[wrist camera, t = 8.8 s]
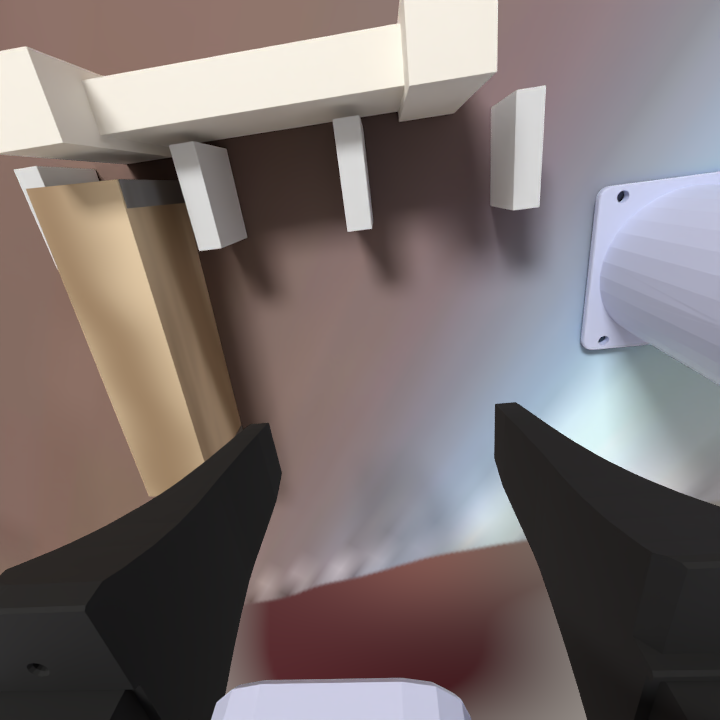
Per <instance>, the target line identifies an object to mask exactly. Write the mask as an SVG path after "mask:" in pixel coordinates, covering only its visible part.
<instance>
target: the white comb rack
mask: <svg viewBox="0 0 720 720" xmlns="http://www.w3.org/2000/svg"><path fill="white" fill-rule="evenodd" d="M497 31H498V0H400V1H399V11H398V21H397V24H393V25H387V26H382V27H376V28H371V29H365V30H360V31H354V32H348V33H343V34H337V35H332V36H326V37H321V38H315V39H309V40H304V41H298V42H293V43H287V44H282V45H276V46H271V47H265V48H259V49H254V50H248V51H243V52H237V53H232V54H226V55H220V56H215V57H209V58H204V59H198V60H193V61H187V62H181V63H176V64H170V65H165V66H159V67H154V68H148V69H142V70H137V71H131V72H126V73H120V74H115V75H109V76H101V75H99V74H96V73H94V72H91V71H88V70H86V69H83V68H81V67H78V66H76V65H73V64H70V63H68V62H65V61H63V60H60V59H58V58H55V57H52V56H50V55H47V54H45V53H42V52H39V51H37V50H34V49H32V48H29V47H27V46H25V47H20V48H15V49H10V50H4V51H0V155H11V156H24V157H37V158H50V159H63V160H76V161H89V162H102V163H115V164H132V163H138V162H144V161H151V160H157V159H164V158H170V157H172V158H173V162H174V165H175V168H176V172H177V175H178V179H179V182H180V186H181V189H182V193H183V196H184V200H185V203H186V207H187V210H188V214H189V217H190V221H191V224H192V228H193V231H194V234H195V238H196V241H197V245H198V248H199V251H204V250H211V249H219V248H223V247H226V246H228V245H231V244H233V243H236V242H238V241H241V240H243V239H246V238H247V234H246V229H245V225H244V221H243V217H242V212H241V208H240V204H239V200H238V195H237V191H236V187H235V183H234V178H233V174H232V170H231V166H230V161H229V157H228V153H227V149H225V148H221V147H217V146H212V145H208V144H203V143H202V142H208V141H215V140H221V139H227V138H234V137H240V136H246V135H253V134H259V133H265V132H272V131H278V130H284V129H291V128H297V127H303V126H310V125H316V124H322V123H329V122H333V127H334V135H335V142H336V150H337V157H338V164H339V172H340V179H341V187H342V194H343V202H344V209H345V216H346V224H347V231H348V232H350V231H358V230H366V229H372V225H373V213H372V204H371V195H370V186H369V176H368V167H367V158H366V149H365V139H364V130H363V125H362V122H361V119H360V117H367V116H373V115H379V114H386V113H392V112H398V116H399V122H402V121H409V120H415V119H422V118H428V117H435V116H441V115H447V114H454V113H455V112H456V111H457V110H458V109H459V108H460V107H461V106H462V105H463V104H464V103H465V102H466V101H467V100H468V99H469V98H470V97H471V96H472V95H473V94H474V93H475V92H476V91H477V90H478V89H479V88H481V87H482V86H483V85H484V84H485V83H486V82H487V81H488V80H489V79H490V78H491V77H492V76H493V75H494V74H495V73H496V72H497ZM545 95H546V85H545V86H539V87H532V88H526V89H520V90H516V91H514V92H513V93H512V94H510V95H509V96H507V97H506V98H504V99H503V100H501V101H500V102H499V103H497V104H496V105H494V106H493V107H491V187H490V206H493V207H498V208H503V209H508V210H520V209H528V208H536V207H539V205H540V186H541V168H542V150H543V131H544V113H545ZM14 172H15V174H16V176H17V179H18V181H19V183H20V185H21V188H22V190H23V192H24V194H25V197H26V199H27V201H28V204H29V206H30V208H31V210H32V213H33V215H34V217H35V219H36V222H37V224H38V226H39V229H40V231H41V233H42V235H43V238H44V240H45V242H46V244H47V247H48V249H49V251H50V248H49V246H48V243H47V241H46V238H45V236H44V233H43V231H42V228H41V226H40V223H39V221H38V218H37V216H36V213H35V211H34V208H33V206H32V203H31V201H30V199H29V196H28V194H27V191H26V189H29V188H39V187H49V186H58V185H68V184H78V183H87V182H97V181H99V179H98V176H97V173H96V171H95V169H82V168H63V167H44V166H34V167H28V168H21V169H15V170H14ZM50 254H51V256H52V253H51V251H50ZM52 258H53V256H52ZM53 260H54V258H53ZM54 263H55V261H54ZM55 265H56V263H55ZM56 267H57V266H56ZM57 269H58V268H57Z"/></svg>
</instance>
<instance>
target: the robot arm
mask: <svg viewBox="0 0 720 720" xmlns="http://www.w3.org/2000/svg"><path fill="white" fill-rule="evenodd" d="M621 191H623V192H624V198H623V200H622V201H621V202H618V201H617V196H618V194H619V193H620V192H621ZM602 336H605V339H604V340H603V341H602V342H598V341H599V339H600V338H601V337H602ZM581 344H582V345H583V346H584V347H585V348H586V349H588V350H597V349H608V348H618V347H629V346H640V345H652V346H654V347H655V348H657V349H659V350H661V351H662V352H664V353H666V354H667V355H669V356H671V357H672V358H674V359H676V360H677V361H679V362H681V363H682V364H684V365H686V366H687V367H689V368H691V369H692V370H694V371H696V372H697V373H699V374H701V375H703V376H704V377H706V378H708V379H709V380H711V381H713V382H714V383H716V384H718V385H719V386H720V171H719V172H712V173H704V174H697V175H689V176H682V177H674V178H666V179H659V180H651V181H644V182H636V183H629V184H621V185H613V186H608V187H605V188H603V189H602V190H600V192H599V193H598V195H597V198H596V204H595V213H594V222H593V231H592V240H591V250H590V259H589V268H588V277H587V286H586V296H585V305H584V314H583V323H582V332H581ZM494 458H495V462H496V465H497V469H498V472H499V475H500V478H501V482H502V485H503V488H504V490H505V492H506V494H507V497H508V499H509V501H510V503H511V505H512V508H513V510H514V512H515V514H516V516H517V519H518V521H519V523H520V525H521V527H522V529H523V532H524V534H525V536H526V538H527V540H528V542H529V545H530V547H531V549H532V551H533V553H534V556H535V558H536V561H537V563H538V566H539V568H540V571H541V574H542V577H543V580H544V583H545V586H546V589H547V592H548V594H549V597H550V600H551V603H552V606H553V609H554V613H555V616H556V619H557V622H558V624H559V628H560V631H561V634H562V637H563V640H564V643H565V647H566V650H567V653H568V656H569V660H570V663H571V666H572V670H573V673H574V676H575V679H576V683H577V686H578V689H579V692H580V696H581V700H582V703H583V706H584V710H585V713H586V717H587V720H720V507H719V506H716V505H713V504H710V503H707V502H704V501H701V500H698V499H696V498H693V497H690V496H687V495H685V494H682V493H679V492H677V491H674V490H672V489H669V488H667V487H664V486H662V485H659V484H657V483H654V482H652V481H650V480H647V479H645V478H643V477H640V476H638V475H636V474H634V473H632V472H630V471H627V470H625V469H623V468H621V467H619V466H617V465H615V464H613V463H611V462H609V461H607V460H605V459H603V458H602V457H600V456H598V455H596V454H594V453H593V452H591V451H589V450H587V449H586V448H584V447H582V446H581V445H579V444H577V443H576V442H574V441H572V440H571V439H569V438H568V437H566V436H564V435H563V434H561V433H560V432H558V431H557V430H555V429H554V428H552V427H551V426H549V425H548V424H546V423H545V422H543V421H542V420H541V419H539V418H538V417H536V416H535V415H533V414H532V413H531V412H529V411H528V410H526V409H525V408H523V407H522V406H520V405H519V404H517V403H516V402H514V403H502V404H495V449H494ZM281 474H282V472H281V468H280V464H279V460H278V457H277V453H276V449H275V445H274V441H273V438H272V434H271V430H270V426H269V423H261V424H251V425H249V426H248V427H246V428H245V429H244V430H242V431H241V432H240V433H239V434H237V435H236V436H235V437H234V438H233V439H231V440H230V441H229V442H228V443H227V444H226V445H224V446H223V447H222V448H221V449H219V450H218V451H217V452H216V453H215V454H213V455H212V456H211V457H210V458H209V459H207V460H206V461H205V462H204V463H202V464H201V465H200V466H198V467H197V468H196V469H195V470H193V471H192V472H191V473H189V474H188V475H187V476H185V477H184V478H183V479H181V480H180V481H179V482H177V483H176V484H175V485H173V486H172V487H170V488H169V489H167V490H166V491H164V492H163V493H161V494H160V495H158V496H157V497H155V498H153V499H152V500H150V501H149V502H147V503H146V504H144V505H142V506H140V507H139V508H137V509H135V510H133V511H132V512H130V513H128V514H126V515H125V516H123V517H121V518H119V519H117V520H116V521H114V522H112V523H110V524H108V525H106V526H105V527H103V528H101V529H99V530H97V531H95V532H93V533H91V534H89V535H86V536H84V537H82V538H80V539H78V540H76V541H74V542H72V543H69V544H67V545H65V546H63V547H60V548H58V549H56V550H54V551H51V552H49V553H46V554H44V555H41V556H39V557H36V558H34V559H32V560H29V561H27V562H24V563H22V564H19V565H17V566H14V567H12V568H9V569H7V570H5V571H4V572H3V573H2V574H1V575H0V720H471V717H470V715H469V713H468V711H467V709H466V708H465V706H464V704H463V702H462V700H461V699H460V698H459V697H458V696H456V695H455V694H454V693H452V692H450V691H448V690H446V689H445V688H443V687H441V686H439V685H437V684H435V683H433V682H429V681H421V680H414V679H406V678H370V679H313V680H312V679H311V680H263V681H258V682H252V683H247V684H242V685H238V686H237V687H235V688H234V689H232V690H231V691H230V692H229V693H227V694H226V695H225V693H226V687H227V682H228V677H229V671H230V666H231V661H232V655H233V650H234V646H235V641H236V637H237V632H238V627H239V623H240V618H241V613H242V609H243V605H244V601H245V597H246V592H247V588H248V584H249V580H250V577H251V573H252V570H253V567H254V564H255V561H256V558H257V555H258V552H259V550H260V547H261V544H262V541H263V538H264V535H265V532H266V530H267V527H268V524H269V521H270V518H271V515H272V512H273V509H274V506H275V503H276V500H277V495H278V490H279V485H280V480H281Z"/></svg>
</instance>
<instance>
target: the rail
mask: <svg viewBox="0 0 720 720" xmlns="http://www.w3.org/2000/svg"><path fill="white" fill-rule="evenodd" d="M26 191H27V194H28V196H29V199H30V201H31V203H32V206H33V208H34V211H35V213H36V216H37V218H38V221H39V223H40V226H41V228H42V231H43V233H44V236H45V238H46V241H47V243H48V246H49V248H50V251H51V253H52V256H53V258H54V261H55V263H56V266H57V268H58V271H59V273H60V276H61V278H62V281H63V283H64V286H65V288H66V291H67V293H68V296H69V298H70V301H71V303H72V306H73V308H74V311H75V313H76V316H77V318H78V321H79V323H80V326H81V328H82V331H83V333H84V336H85V338H86V341H87V343H88V345H89V348H90V350H91V353H92V355H93V358H94V360H95V363H96V365H97V368H98V370H99V373H100V375H101V378H102V380H103V383H104V385H105V388H106V390H107V393H108V395H109V398H110V400H111V403H112V405H113V408H114V410H115V413H116V415H117V418H118V420H119V423H120V425H121V428H122V430H123V433H124V435H125V438H126V440H127V443H128V445H129V448H130V450H131V453H132V455H133V458H134V460H135V463H136V465H137V468H138V470H139V473H140V475H141V478H142V480H143V483H144V485H145V488H146V490H147V492H148V495H149V496H158V495H160V494H161V493H163V492H164V491H166V490H167V489H169V488H170V487H172V486H173V485H175V484H176V483H177V482H179V481H180V480H181V479H183V478H184V477H185V476H187V475H188V474H189V473H191V472H192V471H193V470H195V469H196V468H197V467H198V466H200V465H201V464H202V463H204V462H205V461H206V460H207V459H209V458H210V457H211V456H212V455H213V454H215V453H216V452H217V451H218V450H219V449H221V448H222V447H223V446H224V445H226V444H227V443H228V442H229V441H230V440H231V439H233V438H234V437H235V436H236V435H237V434H239V433H240V432H241V431H242V430H243V428H242V425H241V421H240V417H239V413H238V409H237V405H236V401H235V397H234V393H233V389H232V385H231V381H230V377H229V373H228V369H227V365H226V362H225V358H224V354H223V350H222V346H221V342H220V338H219V334H218V330H217V326H216V322H215V318H214V314H213V310H212V306H211V302H210V298H209V294H208V290H207V286H206V282H205V278H204V274H203V270H202V266H201V262H200V258H199V254H198V250H197V246H196V242H195V238H194V234H193V230H192V226H191V222H190V218H189V214H188V210H187V207H186V203H185V200H184V196H183V193H182V189H181V186H180V182H179V180H125V179H119V180H107V181H97V182H87V183H78V184H68V185H58V186H49V187H39V188H29V189H26Z"/></svg>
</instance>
